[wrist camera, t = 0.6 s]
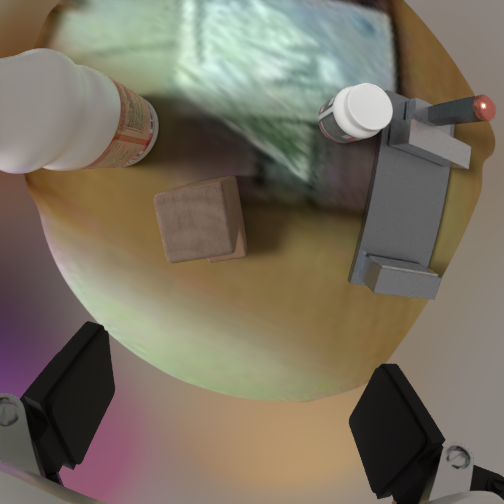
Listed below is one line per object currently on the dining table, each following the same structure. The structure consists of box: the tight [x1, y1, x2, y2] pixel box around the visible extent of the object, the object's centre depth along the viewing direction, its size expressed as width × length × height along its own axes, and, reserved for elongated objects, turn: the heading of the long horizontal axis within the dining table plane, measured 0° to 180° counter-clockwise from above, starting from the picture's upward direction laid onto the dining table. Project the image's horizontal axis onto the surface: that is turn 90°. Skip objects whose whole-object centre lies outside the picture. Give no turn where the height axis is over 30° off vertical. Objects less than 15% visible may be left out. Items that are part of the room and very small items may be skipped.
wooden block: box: [154, 175, 247, 263], centre depth 26 cm, size 9×4×18 cm, turn 9°
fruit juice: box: [0, 48, 159, 173], centre depth 18 cm, size 9×9×28 cm
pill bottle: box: [318, 83, 393, 143], centre depth 27 cm, size 6×6×10 cm
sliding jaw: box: [389, 95, 496, 169], centre depth 24 cm, size 7×10×14 cm
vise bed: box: [348, 90, 455, 299], centre depth 31 cm, size 26×12×6 cm, turn 171°
